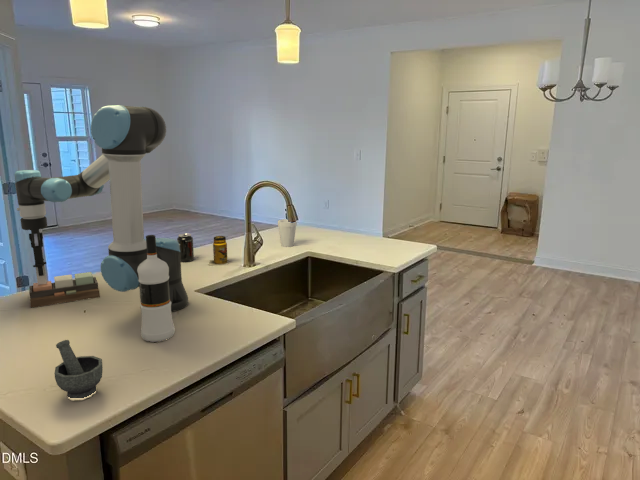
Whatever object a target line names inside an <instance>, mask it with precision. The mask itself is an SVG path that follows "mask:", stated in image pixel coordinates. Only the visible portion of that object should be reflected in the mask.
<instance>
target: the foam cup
mask: <svg viewBox="0 0 640 480" xmlns="http://www.w3.org/2000/svg"><path fill="white" fill-rule="evenodd" d="M287 219H288V218H284V219H279V220H277V226H278V232H279V233H278V234H279V240H280V246H281V247H283V248H291V247H294V245H295V239H296V238H295V237H296V230H297V226H298V225H297V222H295V223H290V222H288V220H287Z"/></svg>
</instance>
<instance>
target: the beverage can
mask: <svg viewBox="0 0 640 480" xmlns="http://www.w3.org/2000/svg"><path fill="white" fill-rule="evenodd" d="M176 241H178V243H179V248H180V259H181V263H188V262H189V263H190V262H192V261H193V260H194V258H195V253H194V238H193V236H192V234H191V233H180V234H178V237H177V239H176Z"/></svg>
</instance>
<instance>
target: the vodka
mask: <svg viewBox="0 0 640 480" xmlns="http://www.w3.org/2000/svg"><path fill="white" fill-rule="evenodd" d="M156 238H157V237H156V235H155V234H146V235H145V239H146V247H147V259H146V260H145V261H143V262H142V263H141V264H140V265H139V266H138V268H137V272H138V279H139V280H138V281H139V287H138V288H139V289H138V290H139V300H140V305H139V308H140V311H141V329H140V336H141V338H142V339H143V340H144V341H146V342H149V341H150V343H159V342H158V341H160V342H164V341H166V339H167V340H170V339H171V338H172V337H173V336H174V335H175V332H176V331H175V330H176V329H175V328H176V327H175V325H174V321H173V316H172V312H171V301H170V291H169V267H168V265H167V263H166V262H164V261H162V260H161V259H159V258H157V250H156ZM163 340H164V341H163Z"/></svg>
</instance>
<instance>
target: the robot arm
mask: <svg viewBox="0 0 640 480" xmlns="http://www.w3.org/2000/svg"><path fill="white" fill-rule="evenodd" d="M90 134H91V138H92V140H93V141H94V143H95V145H96V146H98V147H99V148H101V155H100V156H99V157H97V159H96V160H94V161H92V162H91V163H90V164H89V165H88V166H87V167H86V168H85V169H83V170H82V171H81V172H79V173H78V174H74V175H65V176H56V177H43V176H42V175H41V171H40V170H37V169H25V170H23V169H22V170H17V171H15V173H14V174H13V175H14V186H15V192H16V198H17V204H18V207H16V211H18V212H19V216H20V217H21V219H20V220H19V221H20V226H21V230H24V231H30V233H28V240H29V241H30V246H31V248H32V250H33V257H34V264H33V265H32V267H33V268H35V273H36V279H37V280H36V281H37V282H36V283H38V285H42V284H47V281H48V280H47V272H46V266H45V265H47V261H44V260H45V259H44V254H43V247H44V243H43V239H44V236H43V232H40V230H43V229H46V228H48V219H47V217H46V215H47V211H46V210H47V209H46V203H45V202H51V203H63V202H66V201H68V200H71V199H76V198H77V199H78V198H83V197H84V198H85V197H93V196H95V195H99V194H101V193H102V192H103V188H104V186H105V184H106V183H107V182H109V188H110V189H109V191H110V192H109V193H110V206H111V221H112V222H111V223H112V225H111V226H112V238H113V239H112V242H111V243H110V244H108V247H107V248H108V250H107V251H108V255H107V256H105V257H104V258H103V259H102V261H101V262H100V273H101V276H102V278H103V280H104V281H105V283H106V284H107V285H108V287H110V288H111V289H113V290H115V291H117V292H121V293H123V292H124V293H125V292H129V291H131V290H137V288H139V281H138V280H139V279H138V272H137V268H138V266H139V265H140V264H141V263H142V262H143V261H145V260H146V259H147V247H146V238H145V231H144V229H145V228H144V216H143V215H144V213H143V212H144V207H143V190H142V189H143V187H142V185H143V184H142V164H141V161H142V159H143V158H144V157H145V156H146V154H150V153H151V152H153V151H154V150H155V149H156V148H158V147H159V146H160V145H161V144H162V143H163V141H164V140H165V137H166V135H167V125H166V122H165V119H164V118H163V116H162V115H161V114H160V113H159V112H158V111H157V110H155V109H153V108H151V107H147V106H133V105H132V106H131V105H130V106H129V105H122V104H121V105H120V104H117V105H115V104H114V105H112V104H111V105H105V106H102V107H100V108H99V109H98V110H97V111H96V113H94V114H93V117H92V119H91V123H90ZM156 250H157V258H159V259H161V260H162V261H164V262H166V263H167V265H168V267H169V291H170V301H171V313H173V312H176V311H179V310H182V309H185V308H186V307H187V306H188V305H189V303H190V301H189V296H188V293H187V290H186V288H185V286H184V284H183V280H182V279H183V278H182V264H181V263H182V261H181V259H180V248H179V243H178V241H177V239H174V238H166V237H156Z"/></svg>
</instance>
